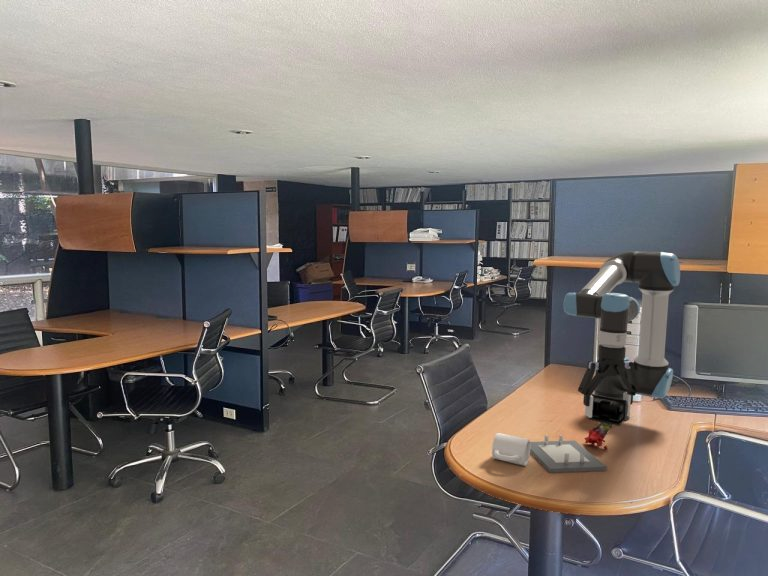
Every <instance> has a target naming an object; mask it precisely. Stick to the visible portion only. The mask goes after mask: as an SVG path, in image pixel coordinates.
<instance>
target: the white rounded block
mask: <svg viewBox="0 0 768 576" xmlns="http://www.w3.org/2000/svg"><path fill="white" fill-rule="evenodd" d="M530 442H531V440H530V439H529V438H524V437H519V436H515V435H511V434H510V435H509V434H506V433H500V432H497V433H496V434H495V435H494V438H493V442H492V445H491V446H492V447H491V455H492V459H494V460H497V461H502V462H506V463H510V464H515V465H519V466H527V465H528V463H529V460H530V456H531V453H530V450H531V443H530Z"/></svg>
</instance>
